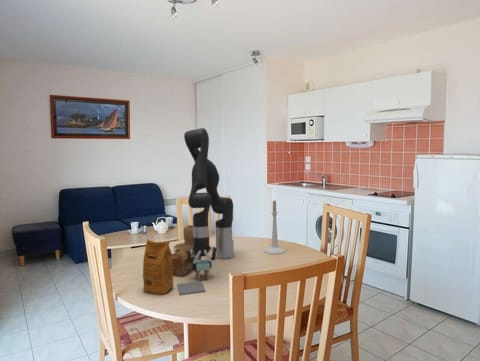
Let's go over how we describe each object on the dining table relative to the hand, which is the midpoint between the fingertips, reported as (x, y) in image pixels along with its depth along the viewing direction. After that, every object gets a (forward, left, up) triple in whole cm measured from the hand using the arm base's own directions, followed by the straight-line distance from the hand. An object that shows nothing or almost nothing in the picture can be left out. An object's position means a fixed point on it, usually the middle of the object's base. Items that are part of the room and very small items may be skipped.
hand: (202, 269), depth 169 cm
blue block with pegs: (0, 0, -4) cm, 4 cm away
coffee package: (+21, +8, -4) cm, 22 cm away
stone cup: (0, -45, -4) cm, 45 cm away
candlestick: (-47, -27, -4) cm, 54 cm away
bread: (+7, -14, -4) cm, 16 cm away
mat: (+7, +11, -4) cm, 14 cm away
